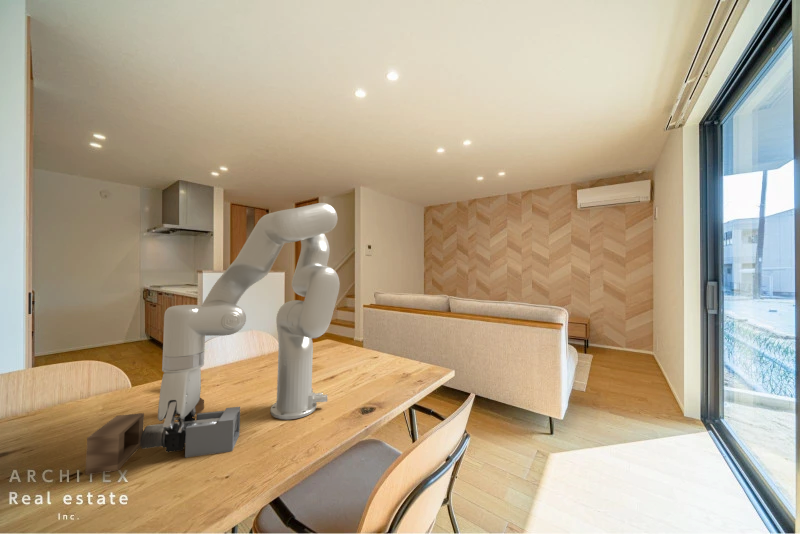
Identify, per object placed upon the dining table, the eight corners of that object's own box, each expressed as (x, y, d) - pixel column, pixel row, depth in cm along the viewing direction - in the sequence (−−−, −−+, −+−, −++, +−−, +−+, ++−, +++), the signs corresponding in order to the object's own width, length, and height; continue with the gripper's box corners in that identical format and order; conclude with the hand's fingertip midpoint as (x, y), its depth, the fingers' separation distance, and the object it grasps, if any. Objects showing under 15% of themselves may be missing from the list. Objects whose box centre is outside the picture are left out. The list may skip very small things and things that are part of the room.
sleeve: (239, 435, 71) (240, 406, 71) (232, 451, 65) (233, 419, 65) (196, 440, 68) (197, 410, 69) (184, 457, 62) (186, 425, 62)
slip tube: (237, 431, 70) (238, 410, 70) (231, 443, 65) (232, 420, 65) (151, 442, 65) (152, 419, 65) (138, 455, 60) (139, 431, 60)
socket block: (142, 444, 66) (144, 413, 66) (117, 470, 58) (119, 434, 58) (115, 447, 65) (116, 415, 65) (85, 474, 56) (87, 437, 56)
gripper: (180, 351, 72) (177, 425, 72) (142, 375, 56) (138, 471, 55) (215, 350, 74) (212, 422, 74) (188, 372, 58) (184, 464, 58)
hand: (180, 442), depth 65 cm, fingers open, 4 cm apart
